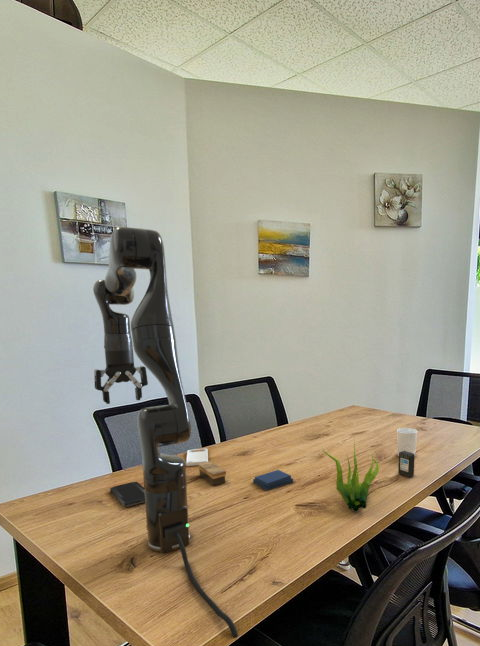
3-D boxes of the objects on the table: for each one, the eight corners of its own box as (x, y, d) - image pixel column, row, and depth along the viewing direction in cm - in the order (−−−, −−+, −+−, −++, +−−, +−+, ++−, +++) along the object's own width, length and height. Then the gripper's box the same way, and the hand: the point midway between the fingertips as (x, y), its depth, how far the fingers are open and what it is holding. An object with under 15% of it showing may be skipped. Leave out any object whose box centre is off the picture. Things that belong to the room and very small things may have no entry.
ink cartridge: (397, 474, 147) (398, 451, 145) (402, 472, 148) (402, 450, 147) (409, 478, 143) (410, 455, 142) (413, 476, 145) (414, 453, 144)
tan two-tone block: (226, 483, 138) (226, 471, 137) (213, 486, 135) (212, 474, 135) (210, 472, 147) (210, 461, 146) (198, 475, 144) (197, 463, 144)
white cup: (419, 454, 166) (420, 429, 165) (411, 460, 160) (412, 434, 158) (400, 451, 171) (401, 426, 169) (392, 456, 164) (393, 431, 162)
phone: (136, 481, 136) (153, 496, 125) (136, 484, 136) (153, 499, 125) (108, 487, 131) (124, 504, 120) (109, 491, 131) (124, 508, 120)
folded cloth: (293, 482, 139) (293, 475, 139) (266, 490, 133) (265, 483, 132) (279, 475, 145) (279, 468, 145) (253, 482, 139) (252, 475, 138)
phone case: (207, 464, 154) (207, 451, 168) (207, 460, 154) (207, 448, 168) (186, 466, 152) (187, 453, 166) (185, 462, 152) (187, 449, 166)
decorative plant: (385, 476, 145) (387, 434, 142) (365, 516, 117) (366, 464, 114) (334, 470, 150) (335, 429, 147) (303, 507, 122) (303, 457, 119)
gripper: (95, 350, 121) (100, 407, 124) (147, 348, 131) (151, 400, 133) (89, 349, 127) (94, 403, 130) (140, 346, 136) (144, 397, 139)
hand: (123, 401), depth 131 cm, fingers open, 8 cm apart
